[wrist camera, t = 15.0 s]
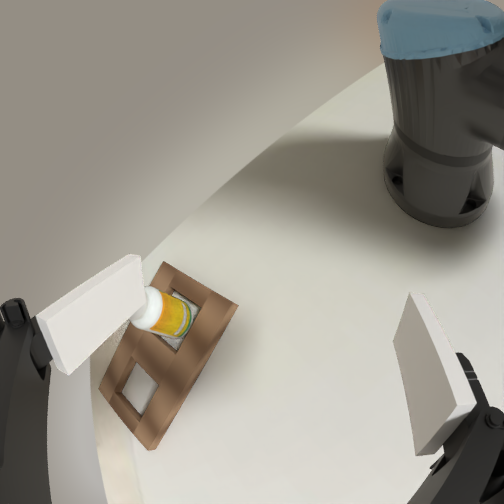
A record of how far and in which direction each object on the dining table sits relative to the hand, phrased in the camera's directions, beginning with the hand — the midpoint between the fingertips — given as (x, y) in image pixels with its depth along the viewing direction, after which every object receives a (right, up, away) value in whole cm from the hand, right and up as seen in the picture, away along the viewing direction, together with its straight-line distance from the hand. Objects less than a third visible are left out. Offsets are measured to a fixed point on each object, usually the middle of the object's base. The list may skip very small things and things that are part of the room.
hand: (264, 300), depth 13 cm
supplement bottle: (-10, -7, +24) cm, 27 cm away
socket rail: (-13, -12, +23) cm, 29 cm away
